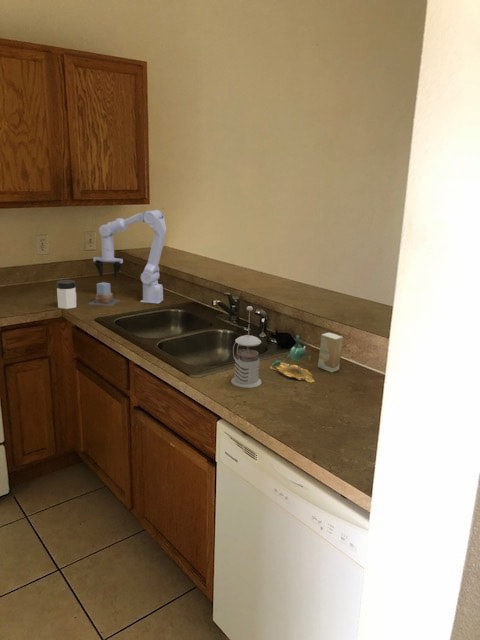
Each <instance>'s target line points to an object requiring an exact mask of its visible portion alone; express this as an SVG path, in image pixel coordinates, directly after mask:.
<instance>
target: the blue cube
mask: <svg viewBox="0 0 480 640" xmlns="http://www.w3.org/2000/svg"><path fill="white" fill-rule="evenodd" d="M111 293H112V292H111V283H109V282H105V281H102V282H98V283H96V294H99V295H108V294H111Z"/></svg>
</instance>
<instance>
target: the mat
mask: <svg viewBox="0 0 480 640" xmlns="http://www.w3.org/2000/svg"><path fill="white" fill-rule="evenodd" d="M120 301H121V299H115V298H113V301H112V302H110V303H109V304H103V303H96V298H95V299H94V300H92V301H90V302H88V303H87V305H95V306H104V307H107V306H108V307H109V306H110V307H113V306H114V305H115V304H117V303H118V302H120Z"/></svg>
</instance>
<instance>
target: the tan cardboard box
mask: <svg viewBox="0 0 480 640" xmlns="http://www.w3.org/2000/svg"><path fill="white" fill-rule="evenodd" d="M95 299H96V298H95ZM113 299H114V296H113V297H112V298H110V299H108V300H104V299H96V303H103V304H109V303H110V302H112V301H113Z"/></svg>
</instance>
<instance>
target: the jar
mask: <svg viewBox="0 0 480 640" xmlns="http://www.w3.org/2000/svg"><path fill="white" fill-rule="evenodd" d="M56 294H57V295H56V296H57V297H56V298H57V308H58V309H65V310H68V309H74V308H77V288H76V281H75V280H72V279H61V280H57V281H56Z"/></svg>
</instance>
